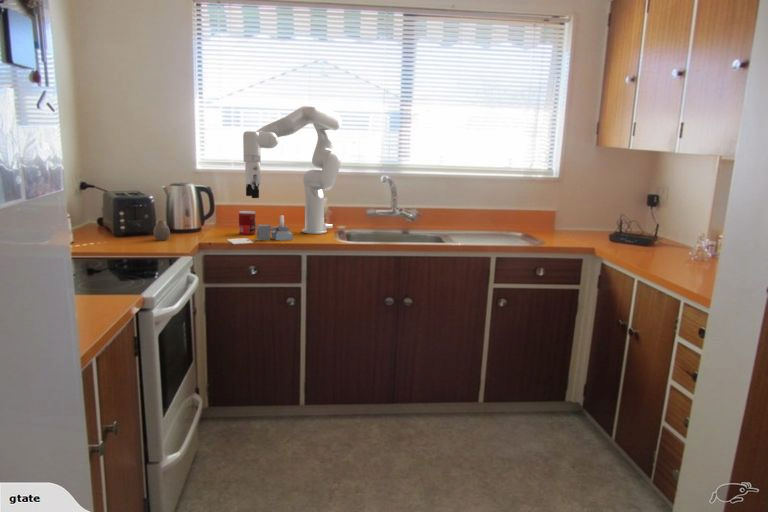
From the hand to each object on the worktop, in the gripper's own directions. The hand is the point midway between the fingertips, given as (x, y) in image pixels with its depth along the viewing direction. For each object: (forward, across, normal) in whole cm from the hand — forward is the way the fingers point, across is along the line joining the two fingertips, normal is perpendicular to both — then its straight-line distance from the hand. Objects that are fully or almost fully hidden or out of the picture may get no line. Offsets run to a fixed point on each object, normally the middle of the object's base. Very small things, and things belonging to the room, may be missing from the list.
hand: (252, 196), depth 254 cm
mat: (+20, -3, +7) cm, 21 cm away
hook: (+20, -3, -9) cm, 22 cm away
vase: (+20, +12, +38) cm, 45 cm away
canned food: (+20, +16, -2) cm, 26 cm away
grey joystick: (+20, -3, -13) cm, 24 cm away
